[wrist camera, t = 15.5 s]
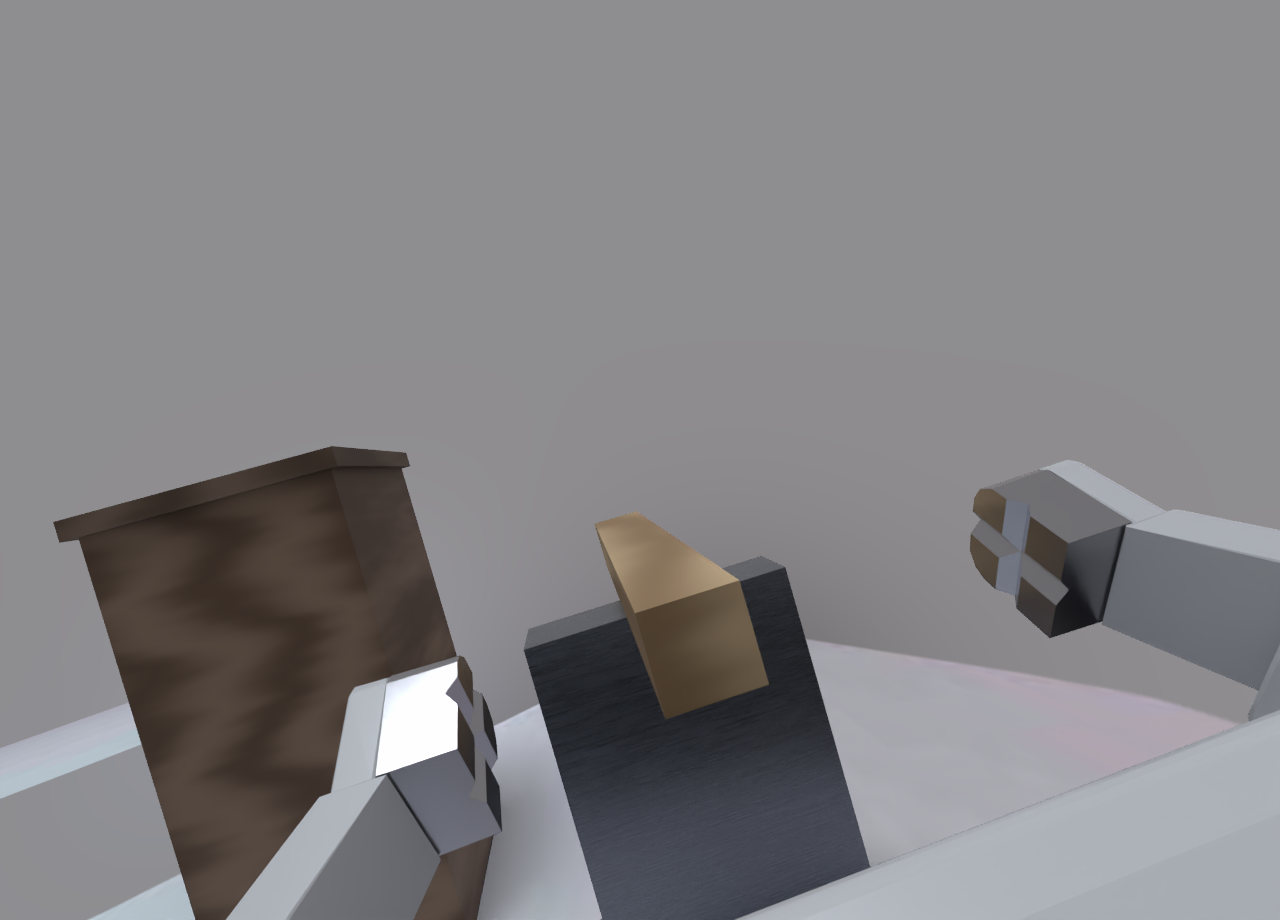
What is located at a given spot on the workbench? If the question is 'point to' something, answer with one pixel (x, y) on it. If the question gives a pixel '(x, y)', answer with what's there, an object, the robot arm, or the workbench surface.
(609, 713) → the grey bracket
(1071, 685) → the workbench surface
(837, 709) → the workbench surface
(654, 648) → the oak rod
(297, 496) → the walnut stand
